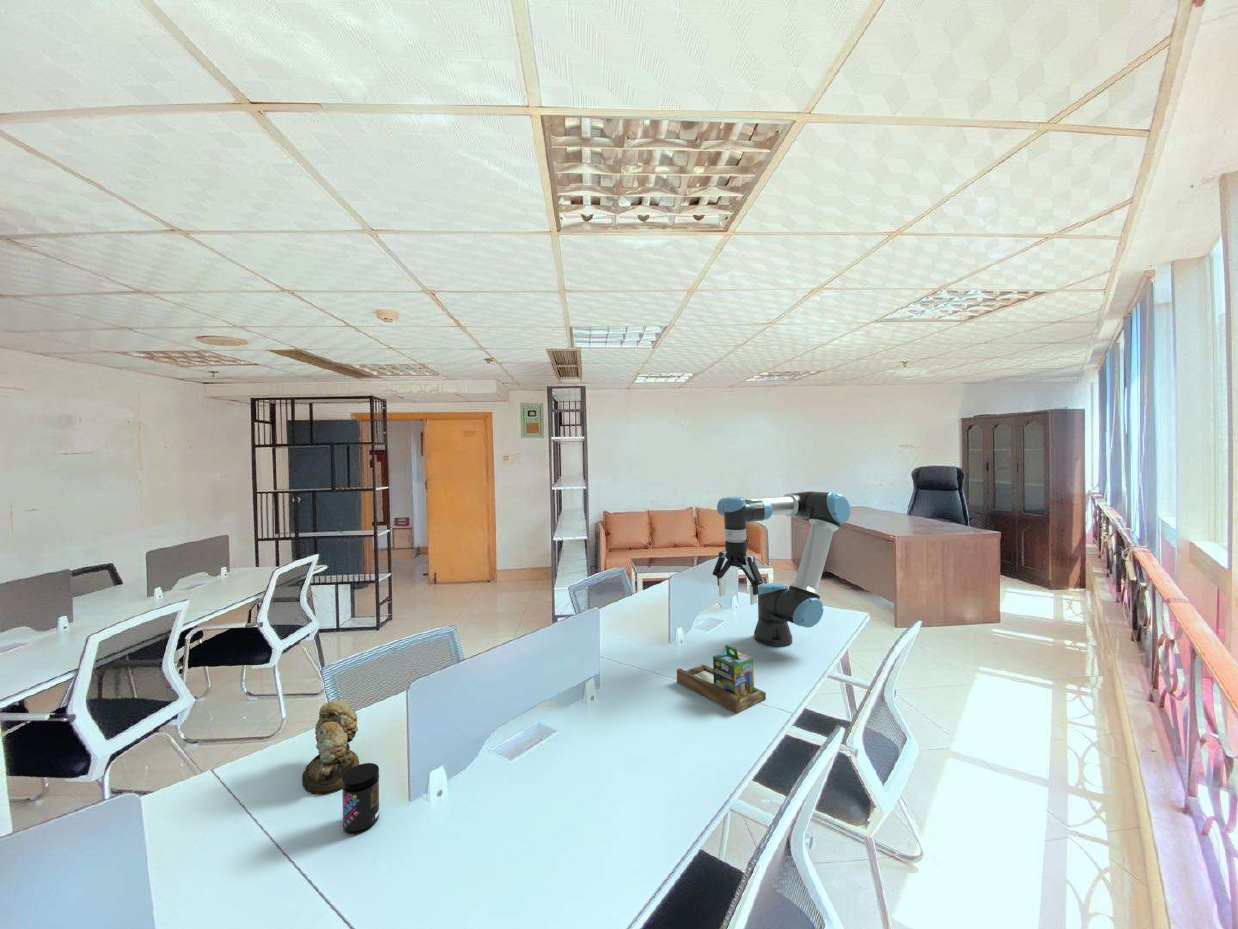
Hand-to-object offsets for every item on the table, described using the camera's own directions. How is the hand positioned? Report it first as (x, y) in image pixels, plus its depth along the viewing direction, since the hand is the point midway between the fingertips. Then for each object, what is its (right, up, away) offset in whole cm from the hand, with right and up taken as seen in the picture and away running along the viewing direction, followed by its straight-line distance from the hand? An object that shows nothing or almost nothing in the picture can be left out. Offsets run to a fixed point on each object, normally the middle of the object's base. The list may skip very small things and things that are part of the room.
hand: (737, 599), depth 171 cm
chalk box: (-7, -24, -21) cm, 32 cm away
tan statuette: (-112, -26, -56) cm, 128 cm away
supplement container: (-96, -26, -72) cm, 123 cm away
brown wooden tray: (-10, -25, -17) cm, 32 cm away
